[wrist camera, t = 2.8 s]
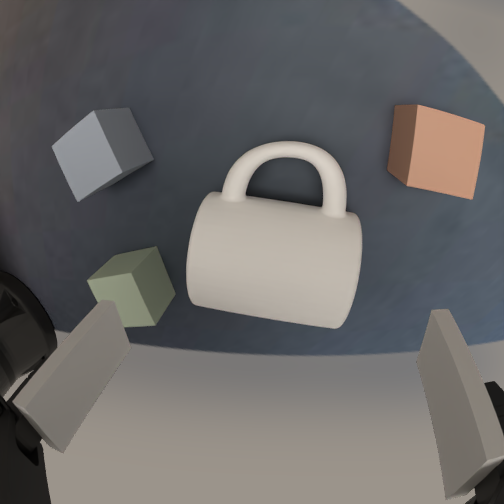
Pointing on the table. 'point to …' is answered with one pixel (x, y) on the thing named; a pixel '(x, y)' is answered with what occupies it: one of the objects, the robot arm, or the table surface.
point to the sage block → (135, 286)
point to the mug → (276, 246)
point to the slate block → (101, 151)
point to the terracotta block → (435, 150)
